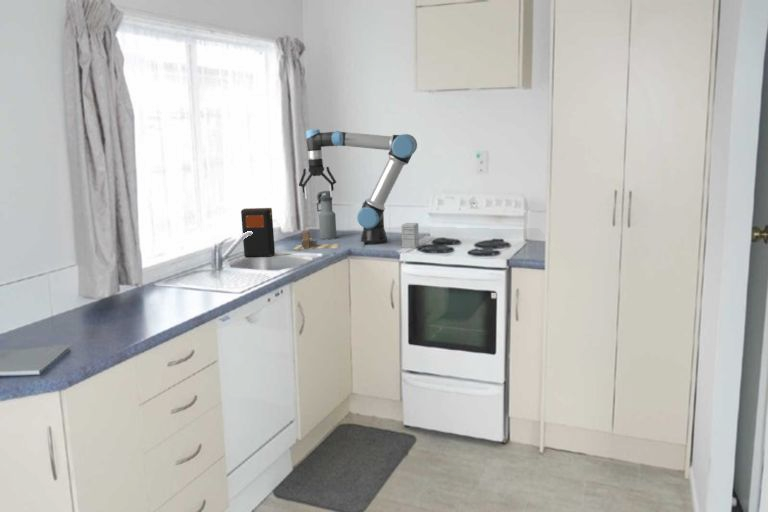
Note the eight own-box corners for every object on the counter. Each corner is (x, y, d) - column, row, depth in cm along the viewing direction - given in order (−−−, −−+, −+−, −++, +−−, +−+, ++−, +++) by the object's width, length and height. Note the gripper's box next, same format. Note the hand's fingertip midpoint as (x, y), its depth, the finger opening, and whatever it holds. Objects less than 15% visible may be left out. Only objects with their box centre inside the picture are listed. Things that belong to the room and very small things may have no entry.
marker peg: (309, 248, 371) (308, 231, 369) (303, 248, 371) (302, 232, 369) (310, 247, 374) (309, 231, 372) (304, 247, 374) (303, 231, 372)
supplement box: (406, 245, 375) (405, 222, 372) (419, 246, 372) (418, 222, 370) (401, 248, 368) (401, 224, 366) (415, 248, 365) (414, 224, 363)
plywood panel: (340, 246, 381) (340, 244, 380) (337, 250, 369) (337, 248, 369) (297, 247, 382) (297, 245, 382) (293, 251, 371) (293, 249, 370)
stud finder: (317, 245, 380) (317, 238, 379) (316, 246, 376) (316, 239, 375) (303, 245, 380) (302, 238, 380) (301, 246, 376) (301, 239, 376)
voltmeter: (276, 254, 365) (272, 207, 360) (272, 257, 357) (268, 209, 352) (247, 254, 367) (243, 207, 362) (242, 257, 358) (238, 210, 354)
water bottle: (316, 239, 406) (313, 192, 401) (324, 236, 415) (321, 190, 410) (332, 239, 402) (329, 192, 397) (339, 237, 411) (336, 190, 406)
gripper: (338, 156, 374) (342, 195, 378) (293, 160, 375) (297, 198, 379) (337, 157, 367) (341, 196, 371) (291, 160, 368) (295, 200, 372)
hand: (318, 197), depth 375 cm, fingers open, 13 cm apart
